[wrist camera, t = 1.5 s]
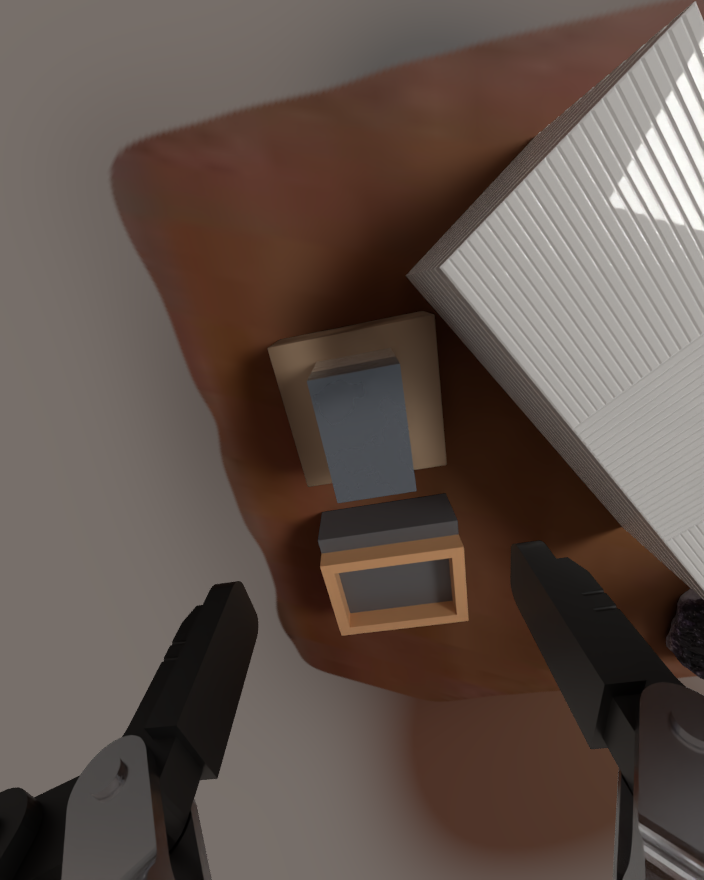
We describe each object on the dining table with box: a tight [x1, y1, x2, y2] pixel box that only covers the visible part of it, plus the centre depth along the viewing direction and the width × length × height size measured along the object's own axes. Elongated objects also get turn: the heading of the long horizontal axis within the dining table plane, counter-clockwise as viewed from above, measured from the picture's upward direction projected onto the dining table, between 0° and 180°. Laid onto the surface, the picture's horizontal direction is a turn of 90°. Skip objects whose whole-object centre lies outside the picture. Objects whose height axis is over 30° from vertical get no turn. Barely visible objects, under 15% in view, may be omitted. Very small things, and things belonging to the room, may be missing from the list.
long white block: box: [406, 1, 704, 600], centre depth 22 cm, size 32×11×11 cm, turn 46°
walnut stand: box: [267, 311, 447, 487], centre depth 25 cm, size 11×11×4 cm
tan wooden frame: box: [318, 493, 469, 636], centre depth 32 cm, size 12×12×6 cm
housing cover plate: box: [307, 356, 417, 503], centre depth 20 cm, size 5×8×2 cm, turn 11°
